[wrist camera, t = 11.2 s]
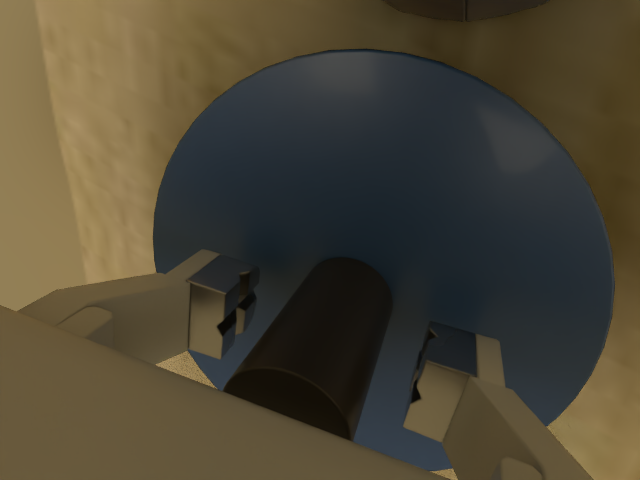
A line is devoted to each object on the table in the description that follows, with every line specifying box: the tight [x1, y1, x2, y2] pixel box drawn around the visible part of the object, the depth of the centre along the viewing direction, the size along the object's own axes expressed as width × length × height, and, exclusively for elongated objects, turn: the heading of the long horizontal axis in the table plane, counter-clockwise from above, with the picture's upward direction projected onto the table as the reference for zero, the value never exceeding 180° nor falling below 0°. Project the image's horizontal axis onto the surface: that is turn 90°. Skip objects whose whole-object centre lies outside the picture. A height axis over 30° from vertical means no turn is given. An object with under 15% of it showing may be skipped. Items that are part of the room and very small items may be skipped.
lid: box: [153, 49, 615, 471], centre depth 10 cm, size 12×12×6 cm
